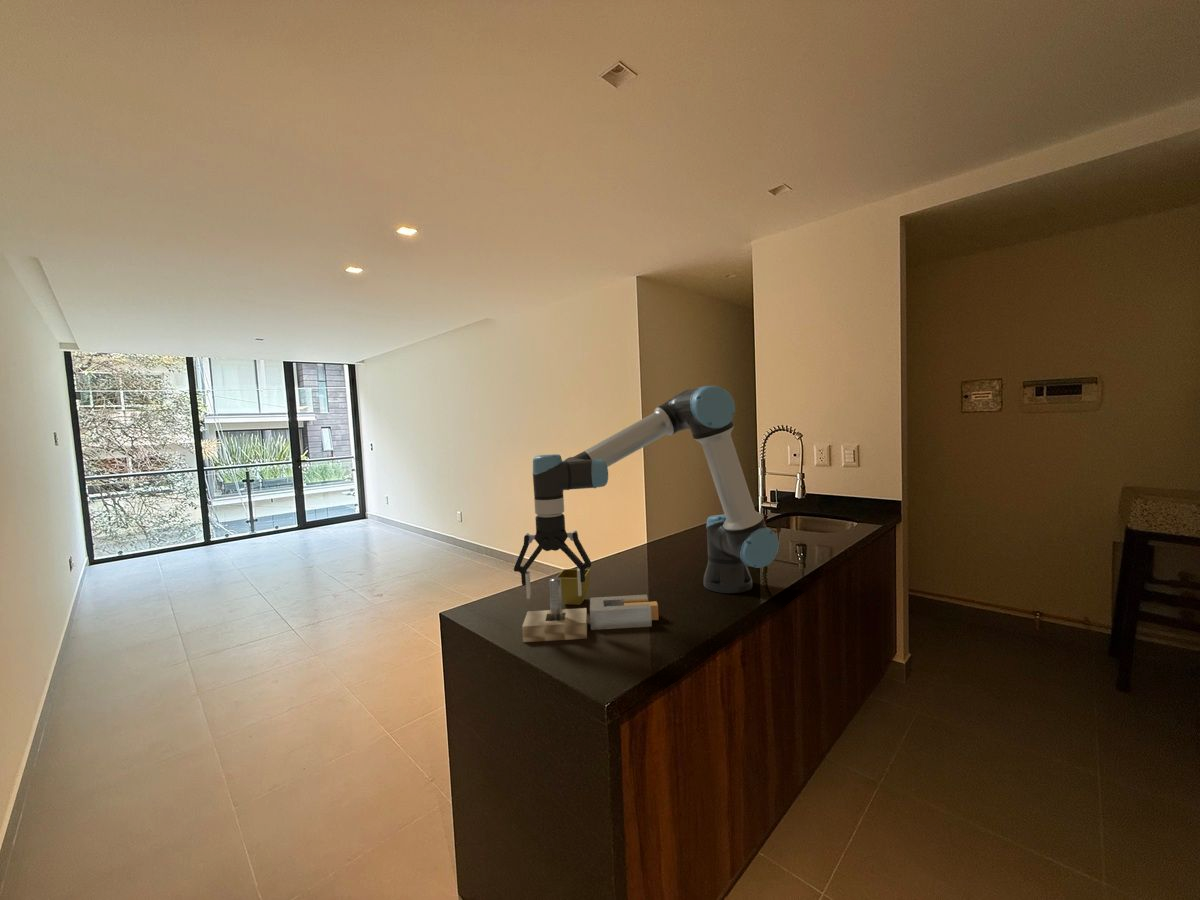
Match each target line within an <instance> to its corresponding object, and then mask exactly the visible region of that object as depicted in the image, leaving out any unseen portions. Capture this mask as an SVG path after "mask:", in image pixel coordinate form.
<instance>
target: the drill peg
mask: <svg viewBox="0 0 1200 900" xmlns="http://www.w3.org/2000/svg"><path fill="white" fill-rule="evenodd" d="M549 608H550V609H549V610H551V621H559V620H562V609H563V601H562V595H561V578H558V577H557V576H556V577H550V578H549Z"/></svg>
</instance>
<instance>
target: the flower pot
mask: <svg viewBox="0 0 1200 900" xmlns="http://www.w3.org/2000/svg"><path fill="white" fill-rule="evenodd" d="M590 574H591V569H590V568H586V569H585V582H581V591H582V593H581V596H578V579H577V568H564V569H562V570H561V572H559V574H558V575H557V576H556V577H558V578H561V595H562V603H563V604H564V605H573V606H575V605H577V606H580V605H582V604H583V603H584V600H585V598H586V597H587V595H588V591H589V589H590V588H589V587H590V577H591V575H590Z"/></svg>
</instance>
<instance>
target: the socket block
mask: <svg viewBox="0 0 1200 900" xmlns="http://www.w3.org/2000/svg"><path fill="white" fill-rule="evenodd" d="M636 602H649V598H648V595H647V594H636V595H635V594H633V595H632V594H631V595H618V596H617V595H615V596H613V595H612V596H599V597H589V618H590V620H589V621H590V630H591V631H597V630H599V631H600V630H614V629H632V628H648V627H653V626H652V625H653V624H652V623H653V620H651V606H650V604H640V605H624V603H636Z"/></svg>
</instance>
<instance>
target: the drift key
mask: <svg viewBox="0 0 1200 900" xmlns="http://www.w3.org/2000/svg"><path fill="white" fill-rule="evenodd" d="M640 604H650V606H651V620H652V621H659V617H660V615H659V605H658V602H657V600H656V601H648V602H636V603H624V605H640Z"/></svg>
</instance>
